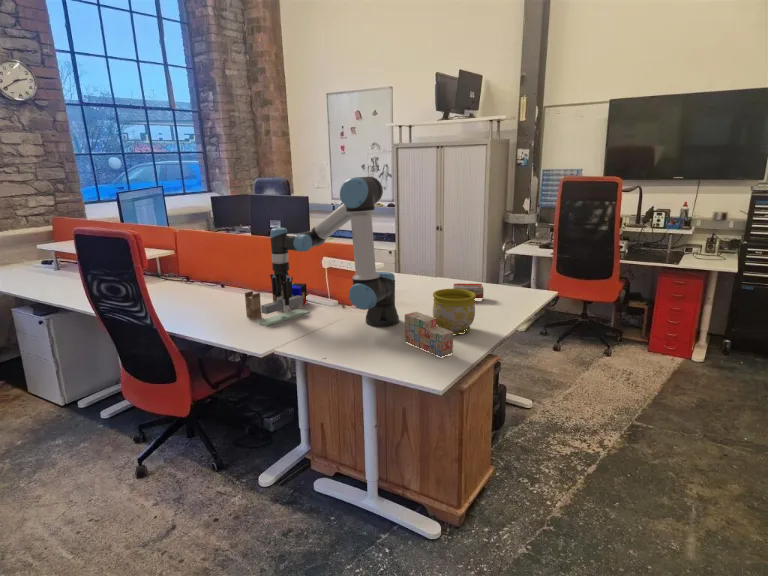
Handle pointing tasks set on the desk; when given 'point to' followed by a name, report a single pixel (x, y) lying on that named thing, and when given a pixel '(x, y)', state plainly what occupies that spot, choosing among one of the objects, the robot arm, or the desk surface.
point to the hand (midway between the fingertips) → (283, 310)
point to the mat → (282, 317)
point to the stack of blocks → (428, 334)
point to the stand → (255, 304)
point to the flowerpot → (454, 309)
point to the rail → (281, 304)
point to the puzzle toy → (299, 292)
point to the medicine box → (471, 288)
